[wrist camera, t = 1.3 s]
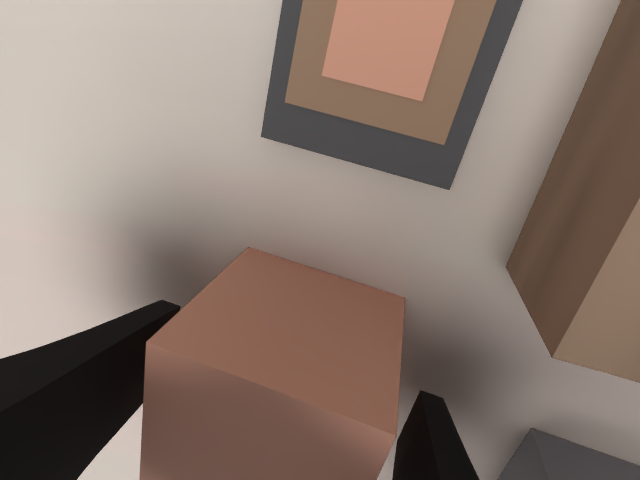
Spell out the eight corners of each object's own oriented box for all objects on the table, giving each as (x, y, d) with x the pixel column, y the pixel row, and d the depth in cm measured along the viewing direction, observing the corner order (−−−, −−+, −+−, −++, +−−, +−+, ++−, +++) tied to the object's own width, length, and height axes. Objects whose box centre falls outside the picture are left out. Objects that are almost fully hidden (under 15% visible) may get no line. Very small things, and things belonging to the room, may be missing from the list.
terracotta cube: (404, 296, 11) (396, 435, 7) (360, 414, 13) (330, 581, 9) (249, 246, 12) (146, 342, 7) (229, 365, 14) (138, 498, 9)
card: (562, -110, 7) (574, -127, 7) (447, 186, 10) (450, 192, 9) (314, -154, 8) (307, -173, 7) (266, 135, 10) (257, 137, 10)
